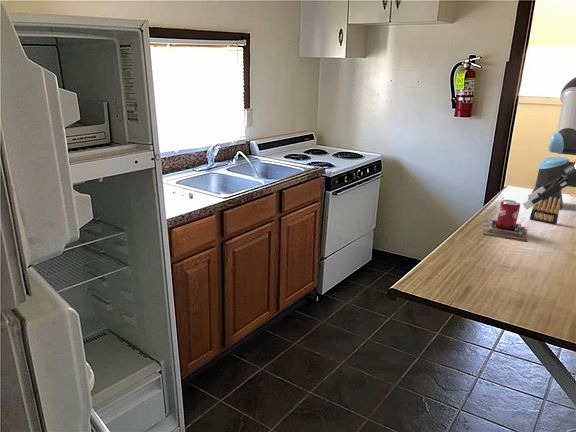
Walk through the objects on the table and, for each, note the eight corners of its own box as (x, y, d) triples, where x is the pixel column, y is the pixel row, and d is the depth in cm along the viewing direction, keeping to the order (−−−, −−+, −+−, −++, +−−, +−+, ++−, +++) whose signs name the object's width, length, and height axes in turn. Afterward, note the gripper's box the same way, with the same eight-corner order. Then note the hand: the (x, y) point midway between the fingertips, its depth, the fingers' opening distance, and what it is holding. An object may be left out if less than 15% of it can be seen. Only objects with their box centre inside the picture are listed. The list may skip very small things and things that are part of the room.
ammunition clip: (556, 224, 208) (563, 198, 204) (555, 225, 207) (562, 198, 203) (530, 218, 214) (535, 192, 210) (529, 219, 213) (534, 193, 209)
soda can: (495, 231, 195) (501, 203, 191) (495, 225, 201) (501, 198, 197) (514, 234, 192) (521, 206, 188) (514, 228, 198) (520, 201, 194)
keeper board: (484, 222, 207) (484, 217, 206) (524, 228, 201) (525, 223, 200) (483, 234, 193) (484, 229, 192) (526, 241, 187) (527, 236, 186)
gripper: (584, 187, 166) (528, 218, 178) (588, 172, 185) (537, 202, 198) (570, 169, 166) (516, 202, 179) (575, 157, 186) (526, 187, 199)
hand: (527, 202), depth 189 cm, fingers open, 13 cm apart
